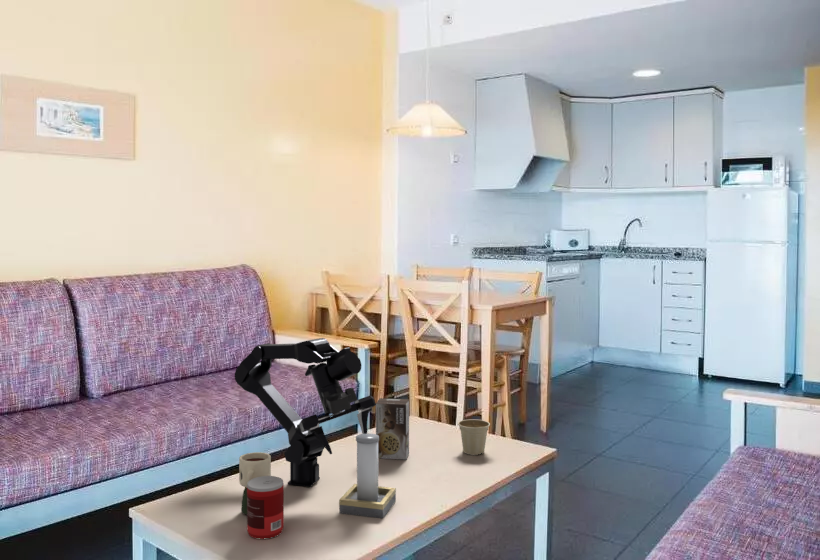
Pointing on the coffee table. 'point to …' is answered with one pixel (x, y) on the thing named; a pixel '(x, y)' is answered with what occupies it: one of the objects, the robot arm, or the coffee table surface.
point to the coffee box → (392, 428)
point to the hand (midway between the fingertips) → (349, 447)
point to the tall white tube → (367, 467)
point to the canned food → (265, 507)
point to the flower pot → (473, 435)
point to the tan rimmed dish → (367, 503)
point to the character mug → (252, 471)
